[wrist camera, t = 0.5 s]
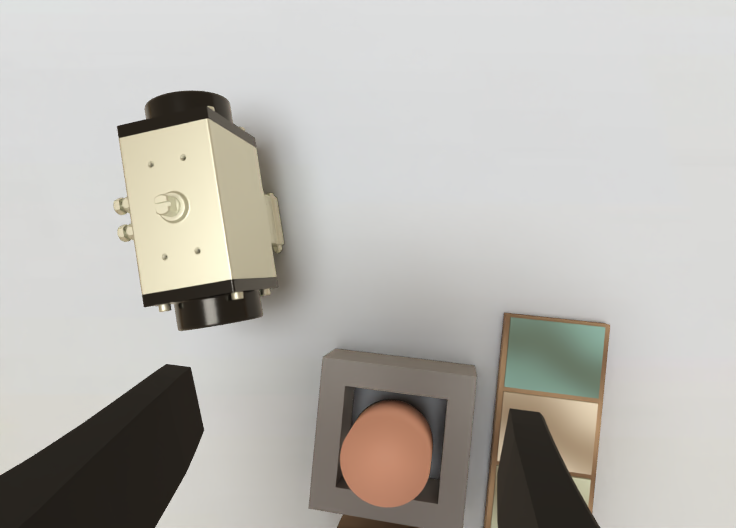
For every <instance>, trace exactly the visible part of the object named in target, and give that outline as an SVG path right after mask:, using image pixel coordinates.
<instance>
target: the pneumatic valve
mask: <svg viewBox="0 0 736 528" xmlns="http://www.w3.org/2000/svg"><path fill="white" fill-rule="evenodd" d="M145 115H146V120H141V121H137V122H133V123H128V124H124V125H120V126H117V130H118V136H119V143H120V150H121V157H122V163H123V170H124V177H125V183H126V190H127V197H125V198H118V199H116V200H115V201H114V209H115V211H116V212H117V213H118V214H120V215H124V214H126V213H127V212H128V213H130V217H131V224H129V225H127V224H126V225H122V226H120V227H119V228H118V236H119V238H120V240H122V241H124V242H127V241H130V240H131V239H132V240H134V244H135V251H136V257H137V264H138V271H139V277H140V284H141V291H142V298H143V304H144V307H149V306H159V312H164V311H170V310H171V305H170V304H174V307H175V314H176V320H177V327H178V330H179V331H185V330H192V329H199V328H206V327H212V326H218V325H223V324H229V323H235V322H240V321H245V320H250V319H255V318H259V317H262V316H263V311H262V305H261V298H260V295H261V296H264V295H270V294H271V293H270V289H271V288H277V287H278V283H277V276H276V270H275V264H274V257H273V252H275V253H280V251H281V250H282V245H284V239H283V232H282V226H281V220H280V213H279V207H278V201H277V197H274V195H273V193H267V194H265V195H264V192H263V188H262V181H261V175H260V169H259V162H258V156H257V150H256V143H255V138H254V137H253V136H251V135H250V134H248V133H247V132H245V128H243V127H238V126H236V125H235V124H233V120H232V114H231V107H230V103H229V101H228V100H227V99H226V98H225V97H223V96H221V95H218V94H215V93H211V92H205V91H178V92H171V93H167V94H163V95H160V96H157V97H155V98H153V99H151V100H150V101H149V102H147V104H146V105H145ZM272 248H273V251H272ZM259 291H260V292H259Z"/></svg>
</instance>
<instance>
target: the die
mask: <svg viewBox="0 0 736 528" xmlns="http://www.w3.org/2000/svg"><path fill="white" fill-rule="evenodd" d="M337 528H419V527H414V526H408V525H402V524H396V523H391V522H385V521H379V520H373V519H367V518H362V517H356V516H350V515H344V514H343V516H342V518H341V520H340V522H339V525H338V527H337Z"/></svg>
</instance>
